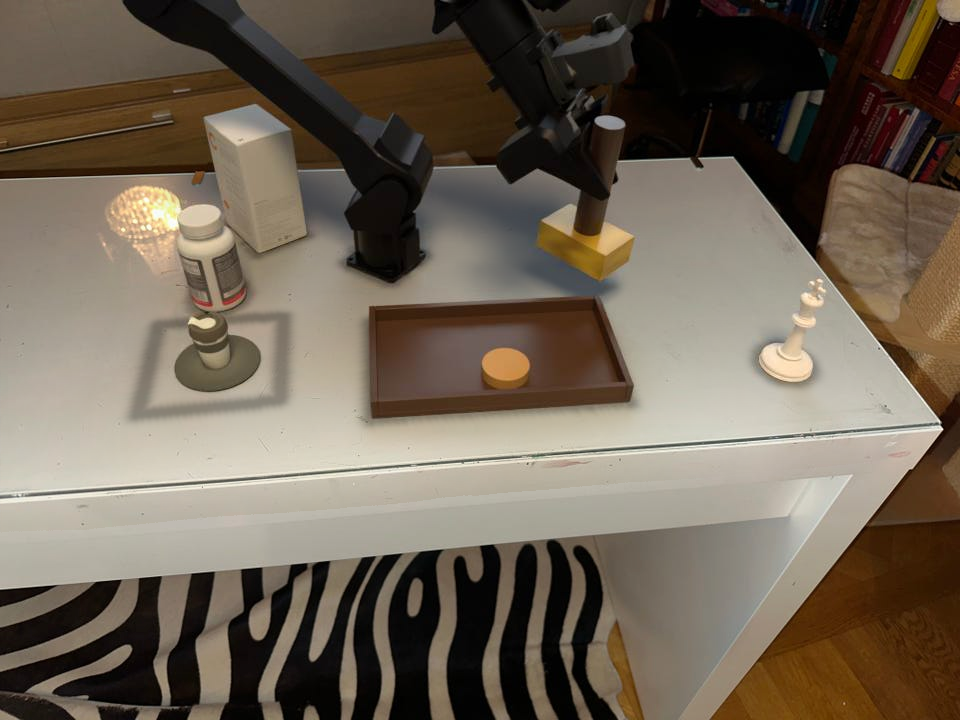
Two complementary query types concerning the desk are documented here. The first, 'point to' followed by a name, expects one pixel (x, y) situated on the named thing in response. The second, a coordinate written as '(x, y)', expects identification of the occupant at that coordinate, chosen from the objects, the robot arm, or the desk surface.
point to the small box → (257, 176)
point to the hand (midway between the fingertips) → (610, 190)
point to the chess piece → (795, 341)
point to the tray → (480, 329)
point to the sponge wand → (591, 214)
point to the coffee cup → (215, 355)
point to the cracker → (505, 368)
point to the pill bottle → (209, 259)
